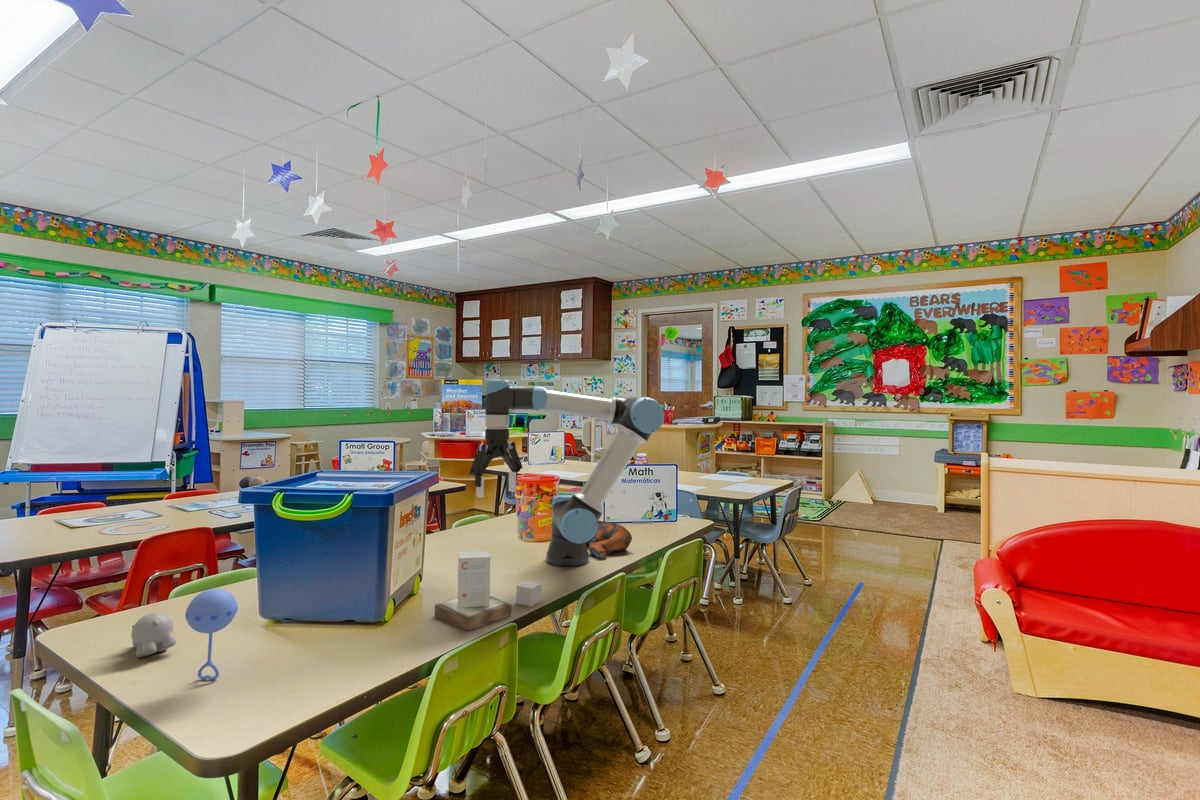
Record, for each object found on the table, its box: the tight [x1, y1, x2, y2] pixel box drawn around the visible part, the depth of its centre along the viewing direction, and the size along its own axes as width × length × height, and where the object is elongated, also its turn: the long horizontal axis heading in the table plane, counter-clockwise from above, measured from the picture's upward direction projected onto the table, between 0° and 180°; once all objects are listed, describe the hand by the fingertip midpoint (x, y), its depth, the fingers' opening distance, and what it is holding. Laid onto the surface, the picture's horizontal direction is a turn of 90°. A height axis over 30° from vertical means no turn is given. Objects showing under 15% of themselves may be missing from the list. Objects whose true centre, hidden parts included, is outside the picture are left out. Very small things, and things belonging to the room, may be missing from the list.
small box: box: [457, 550, 491, 608], centre depth 150 cm, size 8×6×13 cm
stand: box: [434, 595, 512, 632], centre depth 150 cm, size 14×14×3 cm
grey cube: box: [515, 580, 542, 607], centre depth 161 cm, size 5×5×5 cm
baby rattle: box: [184, 588, 239, 681], centre depth 114 cm, size 9×9×18 cm
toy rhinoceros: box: [130, 612, 177, 658], centre depth 126 cm, size 7×12×8 cm, turn 56°
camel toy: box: [585, 519, 633, 560], centre depth 218 cm, size 25×13×17 cm
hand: (496, 494), depth 183 cm, fingers open, 13 cm apart
